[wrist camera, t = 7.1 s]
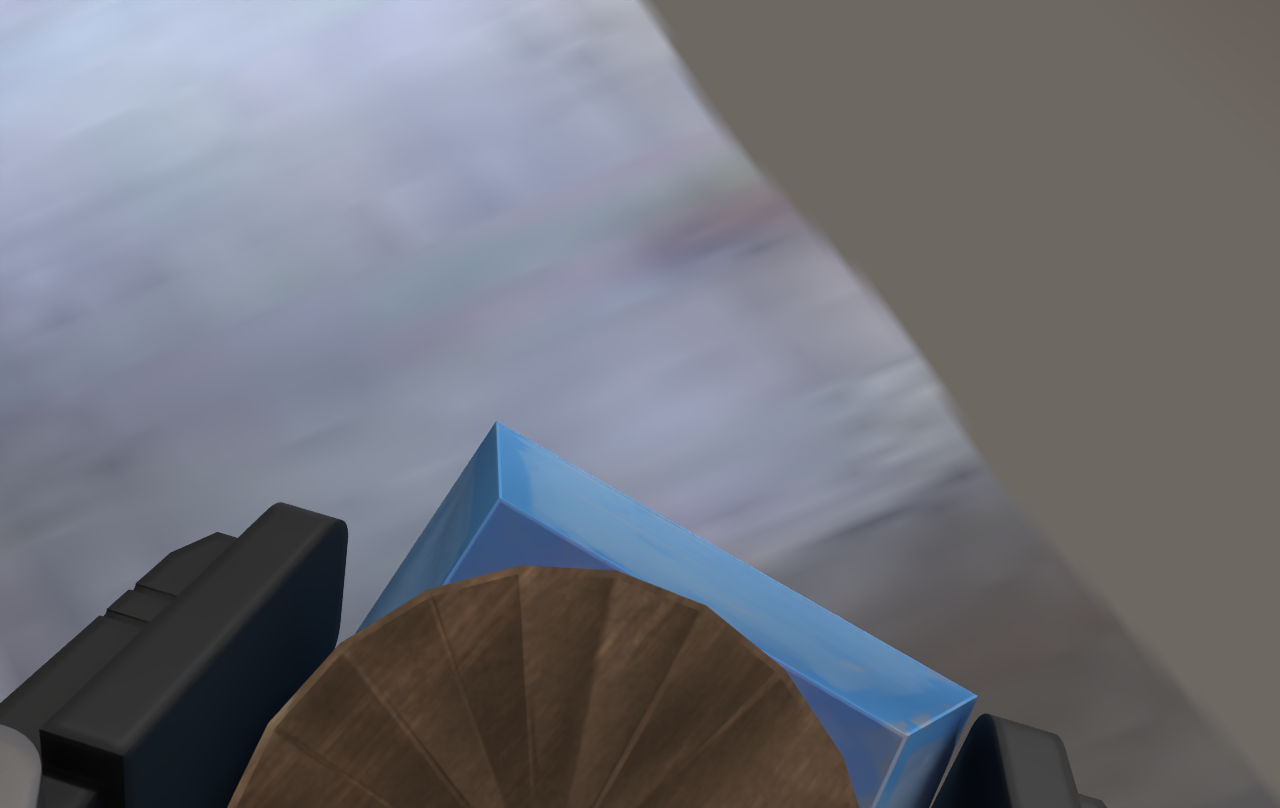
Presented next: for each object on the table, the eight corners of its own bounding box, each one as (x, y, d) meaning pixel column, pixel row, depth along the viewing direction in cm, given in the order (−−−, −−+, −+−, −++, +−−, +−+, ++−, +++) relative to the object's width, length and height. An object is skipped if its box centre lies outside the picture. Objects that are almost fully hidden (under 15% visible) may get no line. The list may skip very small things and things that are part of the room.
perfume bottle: (538, 527, 17) (379, 125, 6) (848, 709, 16) (1377, 653, 5) (333, 856, 15) (-479, 1207, 4) (669, 1082, 14) (849, 2357, 3)
